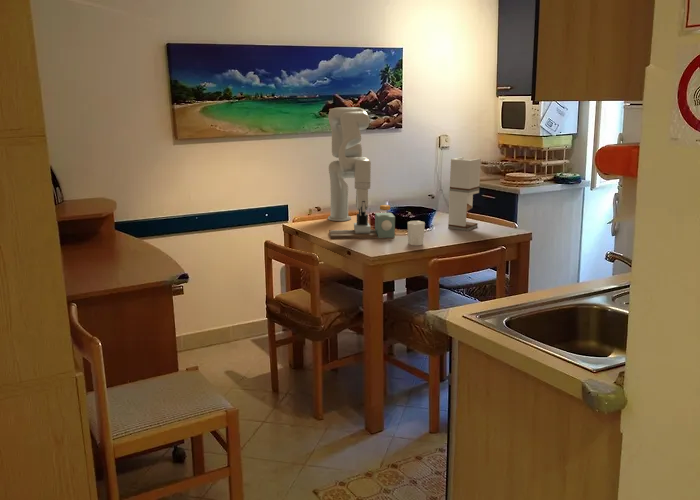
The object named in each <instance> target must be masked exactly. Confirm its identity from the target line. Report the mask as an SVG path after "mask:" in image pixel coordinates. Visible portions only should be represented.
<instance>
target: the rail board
mask: <svg viewBox="0 0 700 500" xmlns="http://www.w3.org/2000/svg"><path fill="white" fill-rule="evenodd" d="M328 234H329V237H330V239H331V240H342V239H343V240H344V239H345V240H349V239H351V240H352V239H355V240H356V239H377V238H378V237H377V234H376V232H375V229H371V231H370V233H355V230H354V229H336V230H335V229H333V230H332V229H331V230H329V231H328Z"/></svg>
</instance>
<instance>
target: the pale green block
mask: <svg viewBox="0 0 700 500" xmlns="http://www.w3.org/2000/svg"><path fill="white" fill-rule="evenodd" d="M395 229H396V216H395V215H394V214H393V213H392V212H375V213H374V230H375V232H376V234H377V238H378V239H384V238H385V239H386V238H394V239H395V237H396V235H395V233H396V230H395Z"/></svg>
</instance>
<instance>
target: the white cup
mask: <svg viewBox="0 0 700 500" xmlns="http://www.w3.org/2000/svg"><path fill="white" fill-rule="evenodd" d="M425 226H426V223H425V221H421V220H410V221H407V243H408V245H410V244H411V245H410V246H422V245H424V237H425V230H426V229H425Z"/></svg>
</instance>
